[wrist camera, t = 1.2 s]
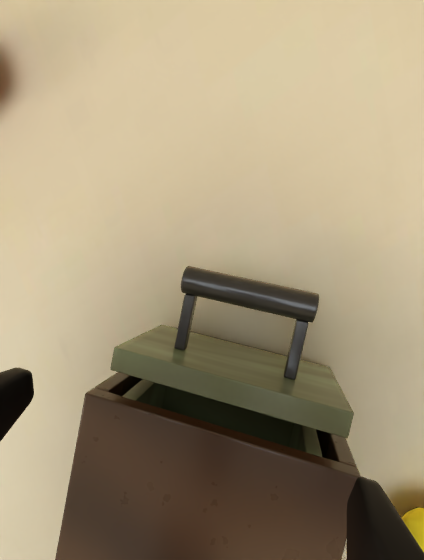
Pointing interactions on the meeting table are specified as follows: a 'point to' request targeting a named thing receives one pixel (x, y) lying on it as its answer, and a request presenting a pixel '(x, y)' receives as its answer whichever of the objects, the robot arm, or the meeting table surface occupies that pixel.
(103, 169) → the meeting table surface
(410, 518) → the lemon
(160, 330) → the drawer
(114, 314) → the meeting table surface
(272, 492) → the cabinet
